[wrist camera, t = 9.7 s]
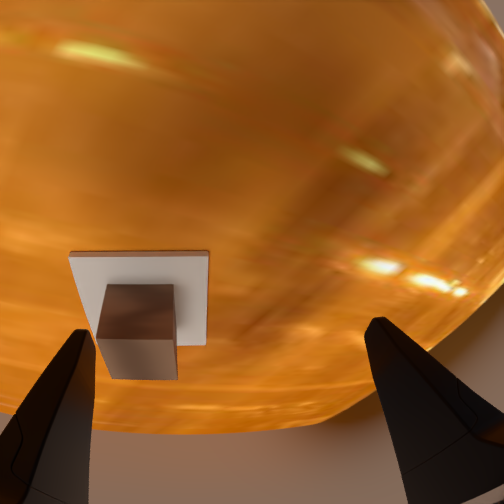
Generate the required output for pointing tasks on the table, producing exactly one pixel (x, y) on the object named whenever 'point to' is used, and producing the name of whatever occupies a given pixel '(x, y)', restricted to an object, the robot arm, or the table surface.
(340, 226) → the table surface
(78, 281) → the stone coaster
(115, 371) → the walnut cube
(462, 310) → the table surface
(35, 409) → the robot arm
